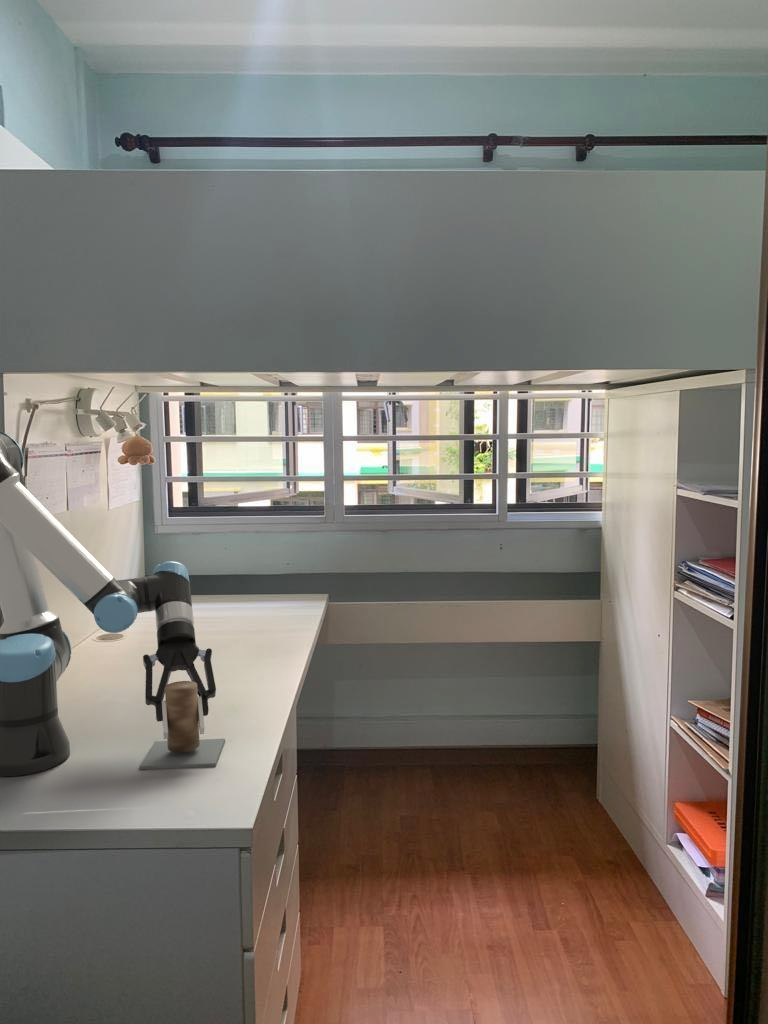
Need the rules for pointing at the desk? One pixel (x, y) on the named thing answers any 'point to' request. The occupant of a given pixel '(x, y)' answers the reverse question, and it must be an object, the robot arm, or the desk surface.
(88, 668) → the desk surface
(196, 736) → the walnut canister
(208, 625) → the desk surface
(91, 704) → the desk surface
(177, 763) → the slate mat
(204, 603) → the desk surface
